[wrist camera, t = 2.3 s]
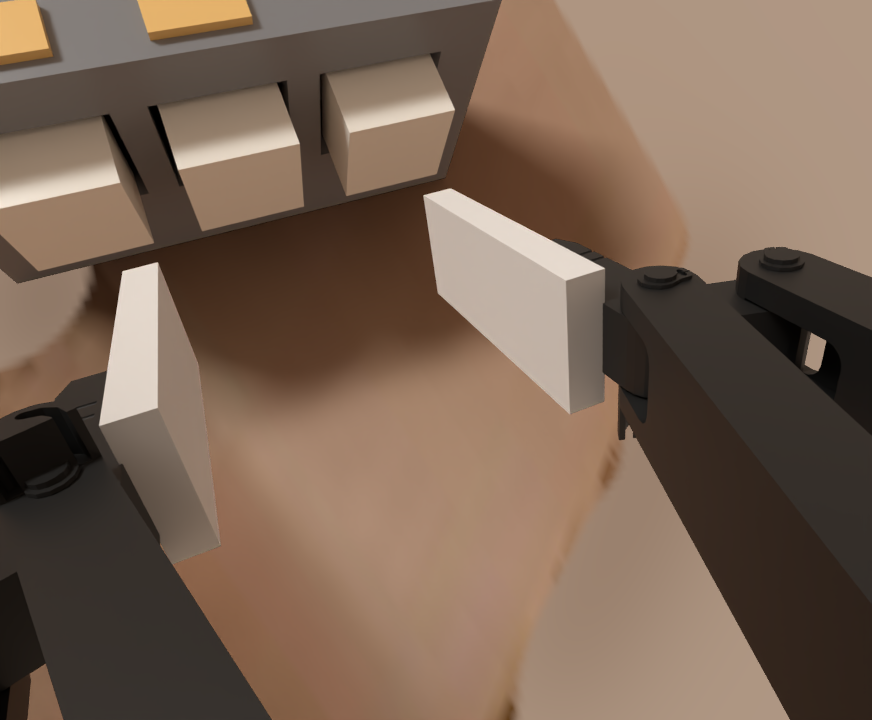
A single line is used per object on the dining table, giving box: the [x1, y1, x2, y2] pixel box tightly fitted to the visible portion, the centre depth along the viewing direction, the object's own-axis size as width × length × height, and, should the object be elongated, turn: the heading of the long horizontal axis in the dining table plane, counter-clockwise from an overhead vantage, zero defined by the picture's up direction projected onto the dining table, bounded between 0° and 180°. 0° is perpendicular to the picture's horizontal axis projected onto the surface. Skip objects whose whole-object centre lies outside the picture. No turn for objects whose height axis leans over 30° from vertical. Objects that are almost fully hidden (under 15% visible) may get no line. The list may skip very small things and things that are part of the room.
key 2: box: [321, 53, 455, 196], centre depth 31 cm, size 4×5×5 cm
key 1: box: [0, 115, 154, 271], centre depth 27 cm, size 4×5×5 cm
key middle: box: [157, 82, 304, 231], centre depth 29 cm, size 4×5×5 cm
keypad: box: [0, 0, 502, 283], centre depth 31 cm, size 8×26×14 cm, turn 111°
